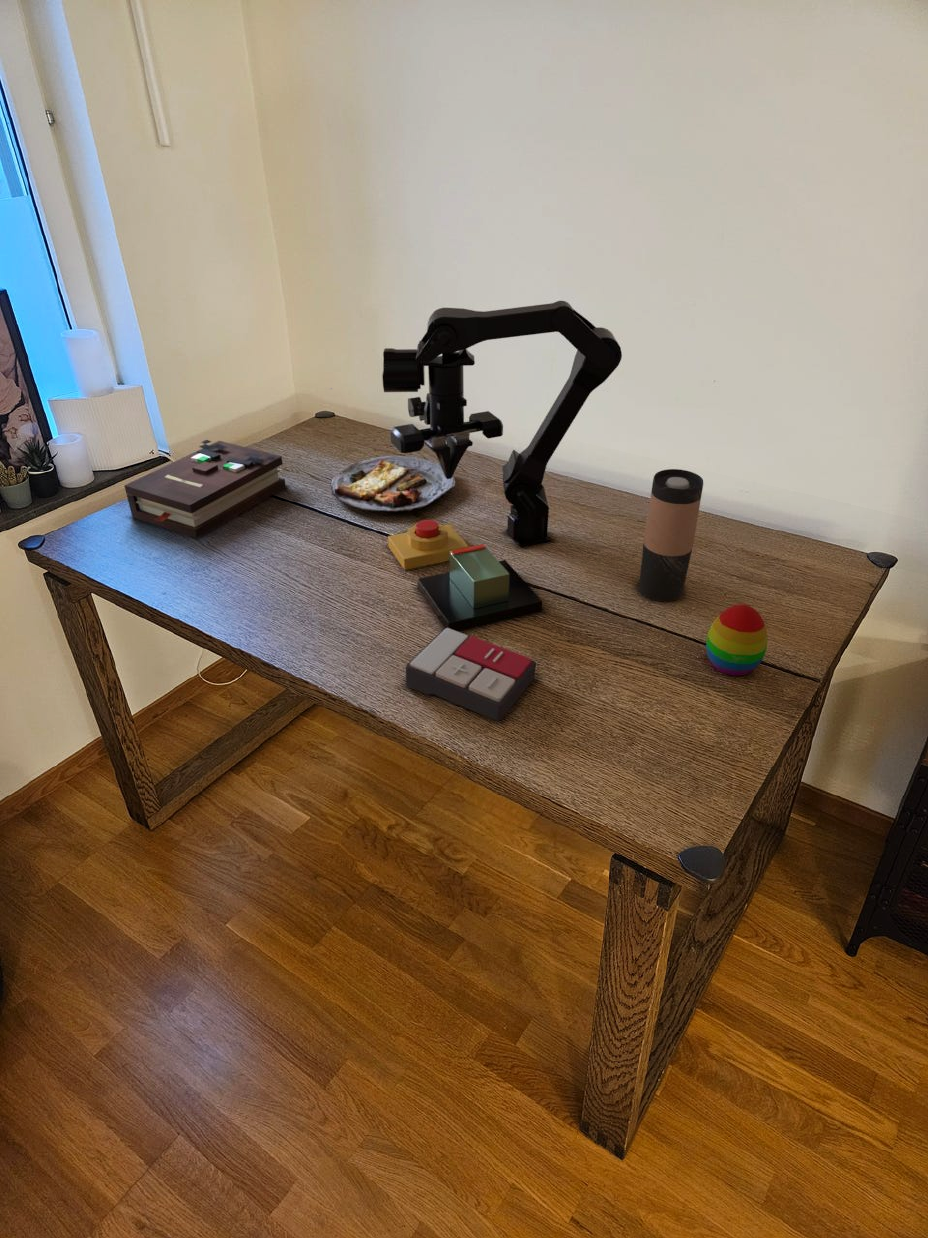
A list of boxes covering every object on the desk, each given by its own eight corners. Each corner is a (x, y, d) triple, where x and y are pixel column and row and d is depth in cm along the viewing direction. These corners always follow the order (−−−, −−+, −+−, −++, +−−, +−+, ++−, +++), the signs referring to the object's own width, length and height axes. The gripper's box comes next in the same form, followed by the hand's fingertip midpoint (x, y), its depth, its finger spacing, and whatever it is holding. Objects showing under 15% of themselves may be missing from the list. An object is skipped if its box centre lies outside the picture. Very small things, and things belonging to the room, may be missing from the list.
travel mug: (686, 582, 136) (706, 472, 125) (681, 606, 130) (701, 492, 119) (640, 575, 138) (656, 465, 127) (633, 597, 132) (649, 485, 121)
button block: (449, 534, 150) (449, 515, 148) (468, 556, 143) (468, 536, 141) (388, 546, 146) (387, 527, 144) (404, 570, 139) (403, 550, 137)
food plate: (403, 530, 151) (402, 513, 149) (308, 501, 161) (306, 485, 159) (473, 482, 169) (473, 466, 167) (383, 458, 179) (382, 443, 177)
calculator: (501, 701, 105) (404, 661, 110) (498, 726, 107) (404, 685, 113) (537, 657, 113) (445, 622, 118) (535, 680, 115) (444, 645, 121)
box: (508, 600, 128) (509, 572, 125) (473, 609, 126) (474, 580, 123) (483, 570, 135) (483, 543, 132) (449, 578, 133) (449, 550, 130)
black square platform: (504, 569, 139) (505, 559, 138) (542, 611, 129) (542, 600, 128) (417, 588, 134) (417, 578, 133) (448, 633, 124) (448, 623, 123)
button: (434, 526, 145) (433, 518, 144) (442, 536, 142) (442, 527, 141) (413, 530, 143) (412, 522, 142) (420, 541, 140) (420, 532, 139)
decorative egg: (745, 689, 113) (760, 631, 107) (692, 666, 117) (704, 608, 111) (770, 662, 118) (785, 605, 112) (718, 641, 122) (730, 585, 116)
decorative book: (108, 484, 150) (222, 431, 172) (118, 520, 154) (228, 465, 176) (184, 507, 142) (293, 449, 164) (192, 545, 147) (297, 483, 168)
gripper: (477, 369, 143) (477, 452, 151) (376, 384, 136) (382, 470, 145) (505, 388, 134) (503, 475, 143) (399, 404, 128) (404, 494, 137)
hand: (448, 477), depth 142 cm, fingers closed
